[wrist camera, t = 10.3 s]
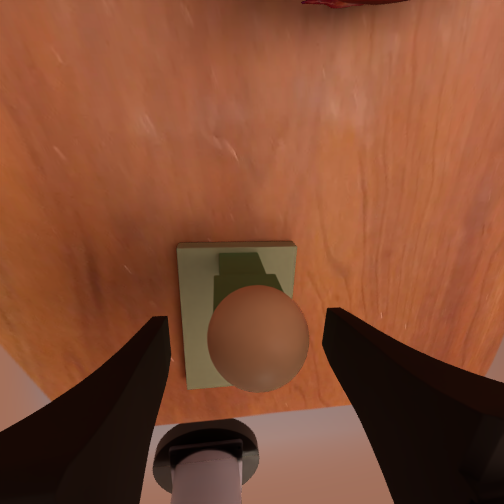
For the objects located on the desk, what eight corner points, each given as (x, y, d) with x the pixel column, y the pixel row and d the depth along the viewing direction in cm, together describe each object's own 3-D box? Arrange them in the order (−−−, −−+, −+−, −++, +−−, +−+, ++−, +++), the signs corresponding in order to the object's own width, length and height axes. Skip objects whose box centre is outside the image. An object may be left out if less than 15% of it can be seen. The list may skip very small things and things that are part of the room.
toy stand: (281, 370, 23) (284, 381, 22) (188, 378, 22) (187, 389, 21) (292, 240, 19) (297, 246, 18) (178, 242, 18) (176, 248, 17)
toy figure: (317, 412, 9) (333, 322, 7) (207, 423, 8) (202, 329, 7) (264, 273, 18) (266, 223, 17) (211, 274, 18) (210, 223, 16)
